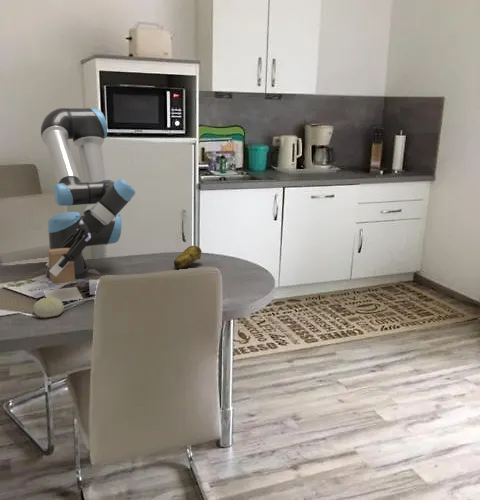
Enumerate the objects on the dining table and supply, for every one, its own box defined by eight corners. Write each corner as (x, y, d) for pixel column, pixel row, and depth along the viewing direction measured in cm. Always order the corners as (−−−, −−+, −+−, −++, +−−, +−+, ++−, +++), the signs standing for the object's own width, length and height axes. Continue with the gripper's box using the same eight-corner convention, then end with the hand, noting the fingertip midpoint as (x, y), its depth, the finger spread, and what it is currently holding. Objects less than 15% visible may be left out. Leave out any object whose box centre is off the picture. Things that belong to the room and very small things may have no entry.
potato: (168, 265, 229) (168, 246, 227) (197, 261, 235) (197, 243, 233) (176, 271, 222) (176, 251, 220) (206, 267, 228) (206, 248, 226)
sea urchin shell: (34, 316, 171) (31, 292, 174) (34, 326, 177) (31, 303, 180) (66, 312, 174) (62, 289, 178) (64, 322, 181) (61, 299, 184)
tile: (43, 294, 194) (43, 290, 193) (76, 290, 198) (76, 286, 198) (48, 305, 184) (48, 301, 184) (82, 300, 189) (82, 297, 189)
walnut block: (50, 278, 190) (47, 249, 188) (71, 275, 193) (69, 247, 191) (53, 284, 184) (51, 254, 182) (75, 281, 187) (73, 252, 185)
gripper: (113, 232, 182) (64, 286, 179) (99, 219, 199) (54, 268, 197) (96, 217, 179) (46, 272, 176) (83, 206, 196) (37, 255, 193)
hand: (50, 270), depth 186 cm, fingers closed on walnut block, 7 cm apart
